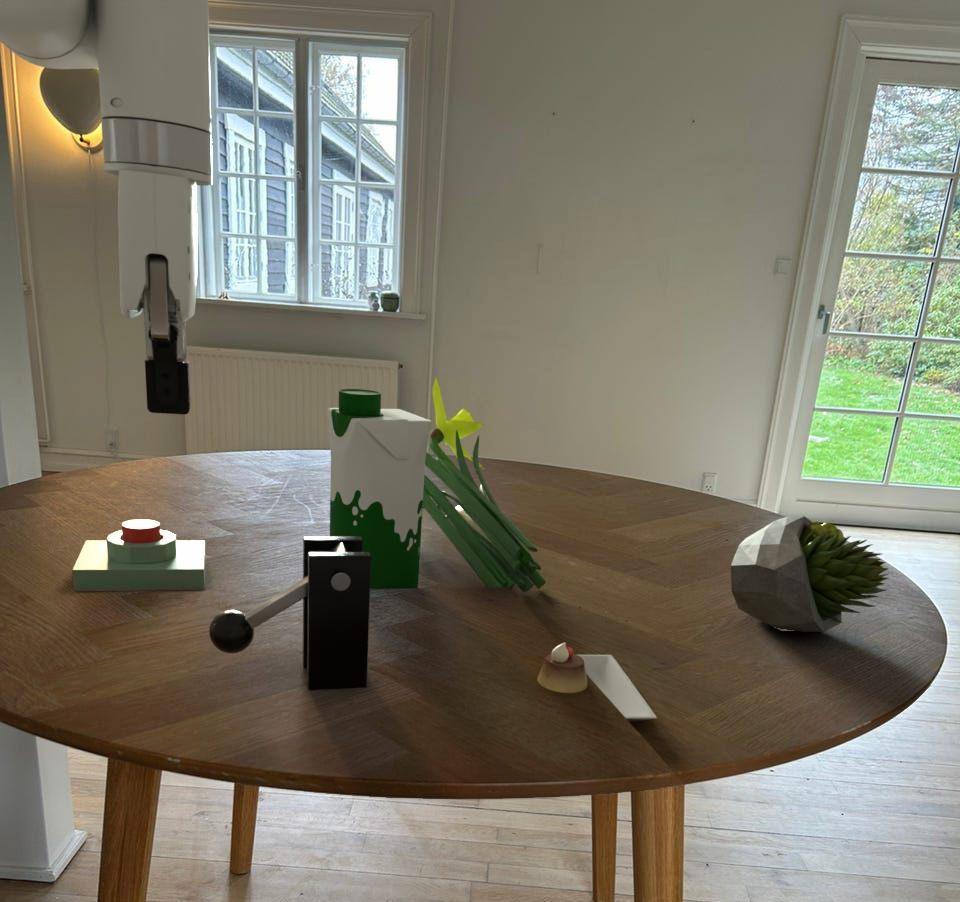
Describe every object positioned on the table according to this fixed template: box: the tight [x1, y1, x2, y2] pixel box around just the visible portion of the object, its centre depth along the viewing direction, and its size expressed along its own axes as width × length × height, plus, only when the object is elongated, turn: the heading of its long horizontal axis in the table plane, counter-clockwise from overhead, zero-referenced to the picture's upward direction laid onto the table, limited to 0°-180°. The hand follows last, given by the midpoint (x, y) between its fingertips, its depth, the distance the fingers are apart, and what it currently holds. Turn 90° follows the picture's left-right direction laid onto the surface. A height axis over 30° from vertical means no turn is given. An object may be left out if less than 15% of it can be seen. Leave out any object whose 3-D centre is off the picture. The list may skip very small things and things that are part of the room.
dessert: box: [536, 638, 658, 723], centre depth 71 cm, size 12×12×5 cm
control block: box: [71, 529, 207, 592], centre depth 90 cm, size 12×10×4 cm
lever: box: [208, 543, 348, 654], centre depth 65 cm, size 12×3×3 cm
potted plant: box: [730, 515, 890, 633], centre depth 89 cm, size 12×13×15 cm
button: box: [121, 518, 161, 543], centre depth 89 cm, size 4×4×2 cm
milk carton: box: [327, 388, 432, 590], centre depth 89 cm, size 9×9×20 cm
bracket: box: [302, 535, 371, 691], centre depth 67 cm, size 12×9×12 cm
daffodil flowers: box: [422, 376, 547, 593], centre depth 105 cm, size 17×15×35 cm
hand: (169, 411), depth 71 cm, fingers closed
